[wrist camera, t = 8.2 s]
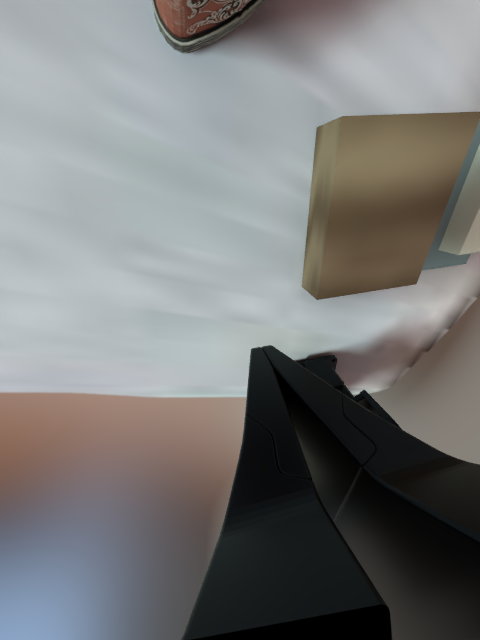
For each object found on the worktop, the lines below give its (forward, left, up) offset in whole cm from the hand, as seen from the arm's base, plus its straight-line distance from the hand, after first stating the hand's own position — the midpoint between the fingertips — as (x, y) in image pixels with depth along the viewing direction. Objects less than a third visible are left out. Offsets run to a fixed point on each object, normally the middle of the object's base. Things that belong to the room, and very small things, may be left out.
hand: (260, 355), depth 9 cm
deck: (+3, -13, -12) cm, 18 cm away
